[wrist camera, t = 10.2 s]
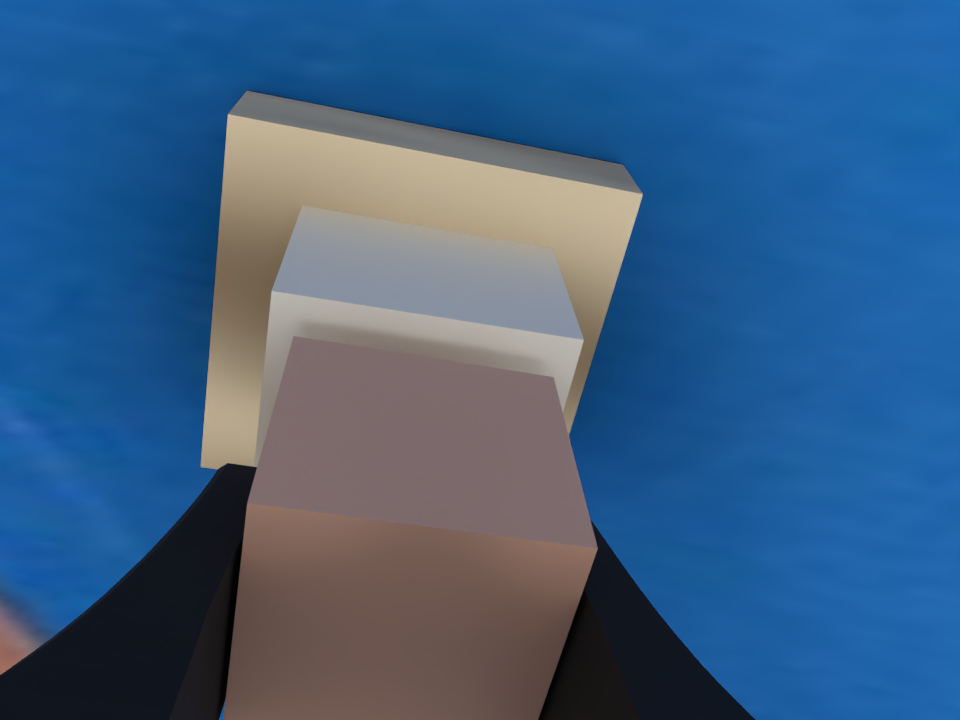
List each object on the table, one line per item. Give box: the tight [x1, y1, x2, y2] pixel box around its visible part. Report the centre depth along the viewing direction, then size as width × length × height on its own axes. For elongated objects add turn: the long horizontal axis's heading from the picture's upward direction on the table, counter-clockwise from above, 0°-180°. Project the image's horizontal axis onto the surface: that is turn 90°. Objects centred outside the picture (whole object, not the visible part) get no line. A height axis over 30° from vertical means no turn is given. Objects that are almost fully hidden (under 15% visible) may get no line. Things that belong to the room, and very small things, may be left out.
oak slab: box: [201, 91, 643, 469], centre depth 20 cm, size 8×8×2 cm
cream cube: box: [254, 205, 584, 467], centre depth 17 cm, size 5×5×4 cm
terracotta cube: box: [223, 336, 598, 720], centre depth 13 cm, size 4×4×4 cm
